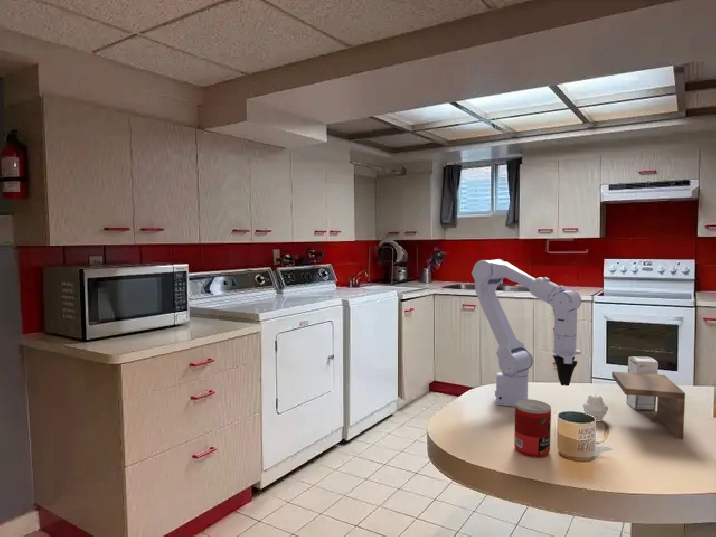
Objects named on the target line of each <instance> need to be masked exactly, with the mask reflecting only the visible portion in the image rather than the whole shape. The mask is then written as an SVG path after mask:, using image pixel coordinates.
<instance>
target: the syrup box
mask: <svg viewBox="0 0 716 537" xmlns="http://www.w3.org/2000/svg"><path fill="white" fill-rule="evenodd" d="M658 367H659V362H658V361H657V360H656V359H654V358H653V357H650V356H629V355H628V359H627V373H642V374H657V375H658V370H659V369H658ZM625 402H626V404H627V405H628V406H629V407H631V408H632V409H634V410H635V411H656V410H657V397H652V396H639V395H626V400H625Z"/></svg>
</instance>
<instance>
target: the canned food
mask: <svg viewBox="0 0 716 537" xmlns="http://www.w3.org/2000/svg"><path fill="white" fill-rule="evenodd" d="M551 426H552V407H551V405H550V404H549V403H547V402H545V401H542V400H537V399H530V398H529V399H524V400H518V401H516V402H515V406H514V432H513V433H514V438H513V439H514V440H513V441H514V442H513V443H514V444H513V446H514V449H515V451H516V452H518V453H519V454H520V455H522V456H526V457H530V458H536V459H537V458H539V459H541V458H545V457H547V456H548V455H550V451H551V432H552V431H551V428H552V427H551Z"/></svg>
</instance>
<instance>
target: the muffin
mask: <svg viewBox="0 0 716 537" xmlns="http://www.w3.org/2000/svg"><path fill="white" fill-rule="evenodd" d="M582 407H583V412H584V413H585V415H586V414H589V415H591V416H594V417H595V418H596V420H597V421H598V420H601V421H602V420H603V419H604V417H605V416H606V414H607V412H608V410H609V406H608V405H607V404H606V403H605V402H604V399H603V397H602V396H601V395H598V394H591V395H589V396H588V397H587V399H586V400H585V401H584V402H583V404H582Z"/></svg>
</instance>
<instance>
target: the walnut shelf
mask: <svg viewBox="0 0 716 537" xmlns="http://www.w3.org/2000/svg"><path fill="white" fill-rule="evenodd" d="M611 376H612V379H613V380H614V381H615V382H616V385H618V387H620V389H621V390H622V392H623V393H624V394H625V395H626V396H627V395H639V396H652V397H656V416H657V418H659V420H660V421H661V422H662V423H663V424H664V426H665V427H666V428H667V429H668V430H669V432H670V433H671V434H672V435H673V436H674V437H675V439H680V440H684V425H685V405H686V393H685V391H683V390H682V389H681V388H680V387H679V386H678V385H677V384H675V382H673V381H672V380H671V379H670V378H669V377H668V376H666V375H665V374H658V373H657V374H642V373H628V371H627V372H626V371H625V372H623V371H612V373H611Z"/></svg>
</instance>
